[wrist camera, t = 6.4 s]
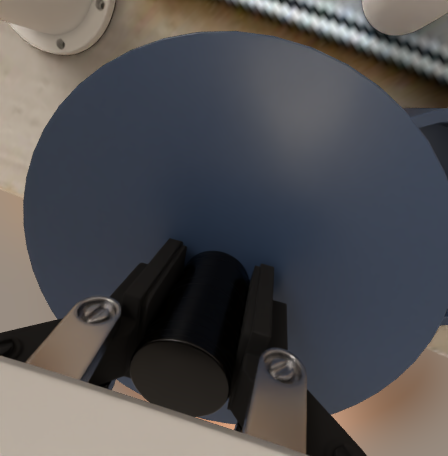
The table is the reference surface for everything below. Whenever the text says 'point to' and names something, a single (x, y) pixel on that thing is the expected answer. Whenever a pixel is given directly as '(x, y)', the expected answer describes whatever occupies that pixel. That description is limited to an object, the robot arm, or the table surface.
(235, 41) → the lid
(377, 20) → the can
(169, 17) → the table surface
